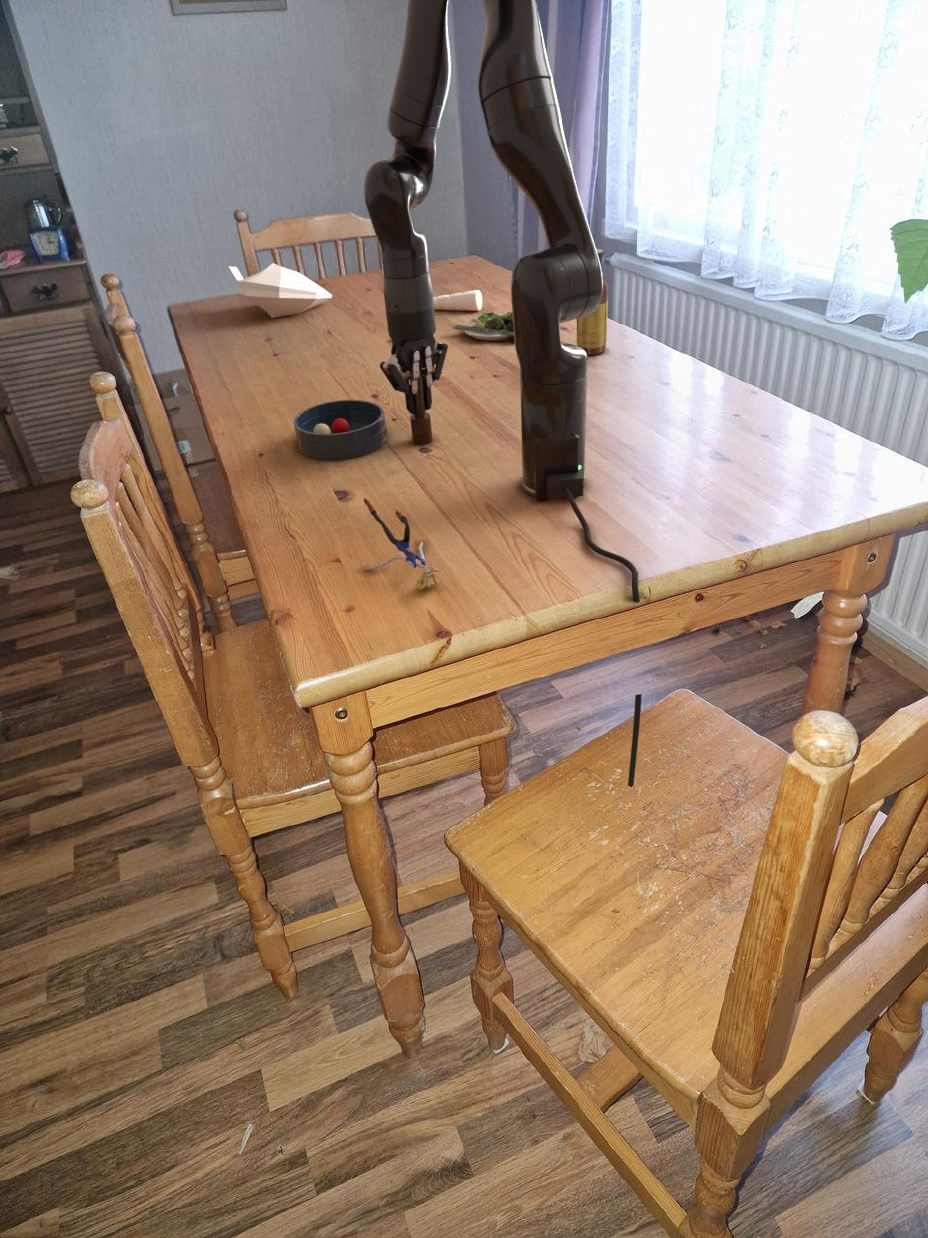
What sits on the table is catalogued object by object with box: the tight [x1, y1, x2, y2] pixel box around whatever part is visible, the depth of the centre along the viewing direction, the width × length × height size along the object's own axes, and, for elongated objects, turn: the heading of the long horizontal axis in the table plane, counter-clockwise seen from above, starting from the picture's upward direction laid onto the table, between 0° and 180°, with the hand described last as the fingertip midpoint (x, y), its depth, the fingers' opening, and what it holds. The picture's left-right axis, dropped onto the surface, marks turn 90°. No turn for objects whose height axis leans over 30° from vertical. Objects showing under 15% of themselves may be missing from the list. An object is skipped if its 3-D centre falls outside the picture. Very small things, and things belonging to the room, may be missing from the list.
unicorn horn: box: [433, 289, 483, 312], centre depth 203 cm, size 5×24×5 cm, turn 68°
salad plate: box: [452, 311, 515, 342], centre depth 184 cm, size 19×18×5 cm
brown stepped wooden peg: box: [409, 368, 433, 446], centre depth 134 cm, size 3×3×14 cm
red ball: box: [332, 418, 349, 434], centre depth 140 cm, size 3×3×3 cm
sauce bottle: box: [576, 248, 609, 356], centre depth 164 cm, size 7×6×20 cm
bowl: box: [292, 399, 388, 461], centre depth 139 cm, size 15×15×4 cm
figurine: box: [363, 497, 439, 603], centre depth 104 cm, size 10×9×20 cm
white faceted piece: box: [228, 262, 333, 319], centre depth 207 cm, size 25×24×12 cm
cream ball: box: [313, 423, 331, 434], centre depth 139 cm, size 3×3×3 cm
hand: (420, 410), depth 135 cm, fingers closed on brown stepped wooden peg, 2 cm apart
